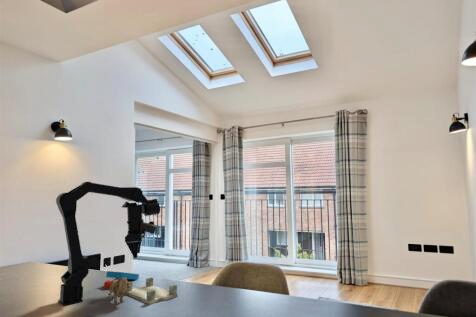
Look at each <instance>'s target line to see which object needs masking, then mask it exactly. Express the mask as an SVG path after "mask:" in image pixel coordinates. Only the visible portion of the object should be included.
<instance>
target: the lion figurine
mask: <svg viewBox="0 0 476 317" xmlns="http://www.w3.org/2000/svg"><path fill="white" fill-rule="evenodd" d="M111 281H112V280H111ZM129 282H130V281H128V279H127V278H121V279H119V280H114V279H113V281H112V282H111V284H110V289H109V293H108V296H109V297H108V298H107V300H108V301H111V300H112V293H113V305H114V306H115V305H118V300H117V299H118V296H119V297H120V298H119V302H120V303H124V302H125V301H124V300H123V298H124V295H125V294H124V293H125V292H126V290H127V289H130V286H131V285H132V286H133V283H132V284H131V283H129Z"/></svg>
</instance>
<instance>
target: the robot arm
mask: <svg viewBox="0 0 476 317" xmlns="http://www.w3.org/2000/svg"><path fill="white" fill-rule="evenodd" d="M88 193H91V194H98V195H99V194H100V195H106V196H112V197H118V198H121V199H123V200H126V201H125V202H124V203H123V204H122V206H121V208H123V209H124V208H125V209H126V210H127V221H126V224H127V235H125V237H124V243H125V244H126V246H127V247H128V249H129V252H130V253H131V256H132V257H133V259H137V258H138V254H140V251H141V246H142V242H143V239H144V238H145V237H146V233H149V234H152V235H154V234H155V232H156V230H157V227H158V226H157V224H155V221H153V220H150V221H149V222H144V219H143V215H144V216H145V217H148V216H157V215H159V214H160V213H161V206H160V203H159V201H158V198H152V199H147V197H146V196H145V195H144V194H143V190H142V189H141V188H140V187H137V186H133V187H132V186H131V187H129V186H128V187H127V186H125V187H124V186H123V187H119V186H113V185H107V184H101V183H95V182H92V181H84V182H82V183H81V184H79V185H78V186H76V187H74V188H73V189H70V190H69V191H68V192H61V193H59V194H58V195H57V197H56V199H55V203H56V206H57V209H58V211H59V213H60V215H61V217H62V220H63V227H64V232H65V236H66V237H65V239H66V243H67V244H66V245H67V250H68V261H67V270H66V272H64V273H63V274H62V275H61V277H60V279H61V283H63V284H60V289H59V290H60V291H59V292H60V293H59V294H60V295H59V299H58V300H57V302H58V303H60V304H61V305H62V306H67V305H71V304H76V303H81V302H83V301H84V299H83V297H84V286H83V281H84V279H85V278H86V277H87V276H88V275H89V271H90V269H91V266H90V264H89V257H88V256H86V255H85V254H84V255H83V253H82V248H81V242H80V236H79V231H78V230H79V229H78V224H77V220H76V219H77V218H76V215H77V209H78V208H77V207H78V206H77V202H78V201H80V199H82V198H83V197H84V196H86V195H87V194H88ZM138 203H139V204H138Z"/></svg>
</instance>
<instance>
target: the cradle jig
mask: <svg viewBox="0 0 476 317" xmlns="http://www.w3.org/2000/svg"><path fill="white" fill-rule="evenodd" d="M128 282H129V283H131V284H132V285H131V286H130V289H127V290H126V292H125V293H124V295H127V296H129V297H131V298H134V299H135V300H136V299H137V300H138V301H141V302H144V303H146V304H148V305H152V304H154V303H158V302H162V301H163V302H164V301H166V300H170V299H173V298H177V297H178V285H177V284H171V285H168V289H165V288H163V287H159V286H156V285H154V277H152V276H151V277H146V278H145V285H141V286H139V287H133V282H132V281H128Z"/></svg>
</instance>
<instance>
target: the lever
mask: <svg viewBox="0 0 476 317" xmlns="http://www.w3.org/2000/svg"><path fill="white" fill-rule="evenodd" d="M105 277H106V278H112V279H113V280H119V279H121V278H127V280H137V281H138V280H139V278H140V274H139V273H132V272H123V271H122V272H121V271H109V270H108V271H106V276H105ZM113 280H105V281H104V283H103V288H104V289H106V290H110V284H111V282H112V281H113Z"/></svg>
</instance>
